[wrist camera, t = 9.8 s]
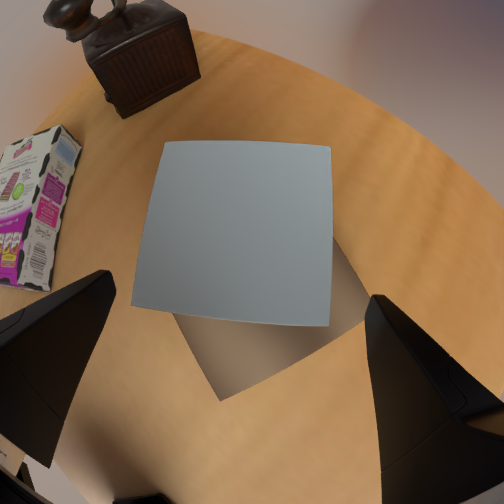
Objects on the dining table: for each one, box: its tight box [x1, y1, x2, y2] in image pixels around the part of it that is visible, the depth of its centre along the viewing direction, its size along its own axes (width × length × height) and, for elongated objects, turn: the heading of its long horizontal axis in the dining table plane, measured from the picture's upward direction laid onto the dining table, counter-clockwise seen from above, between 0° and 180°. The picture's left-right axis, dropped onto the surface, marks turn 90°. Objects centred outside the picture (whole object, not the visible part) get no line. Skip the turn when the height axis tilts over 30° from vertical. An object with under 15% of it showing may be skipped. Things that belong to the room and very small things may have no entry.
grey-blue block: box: [131, 140, 333, 326], centre depth 12 cm, size 5×5×10 cm
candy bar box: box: [0, 124, 82, 293], centre depth 22 cm, size 11×5×16 cm
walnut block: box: [173, 237, 370, 401], centre depth 19 cm, size 11×11×4 cm
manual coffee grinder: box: [43, 0, 201, 119], centre depth 19 cm, size 16×11×18 cm
